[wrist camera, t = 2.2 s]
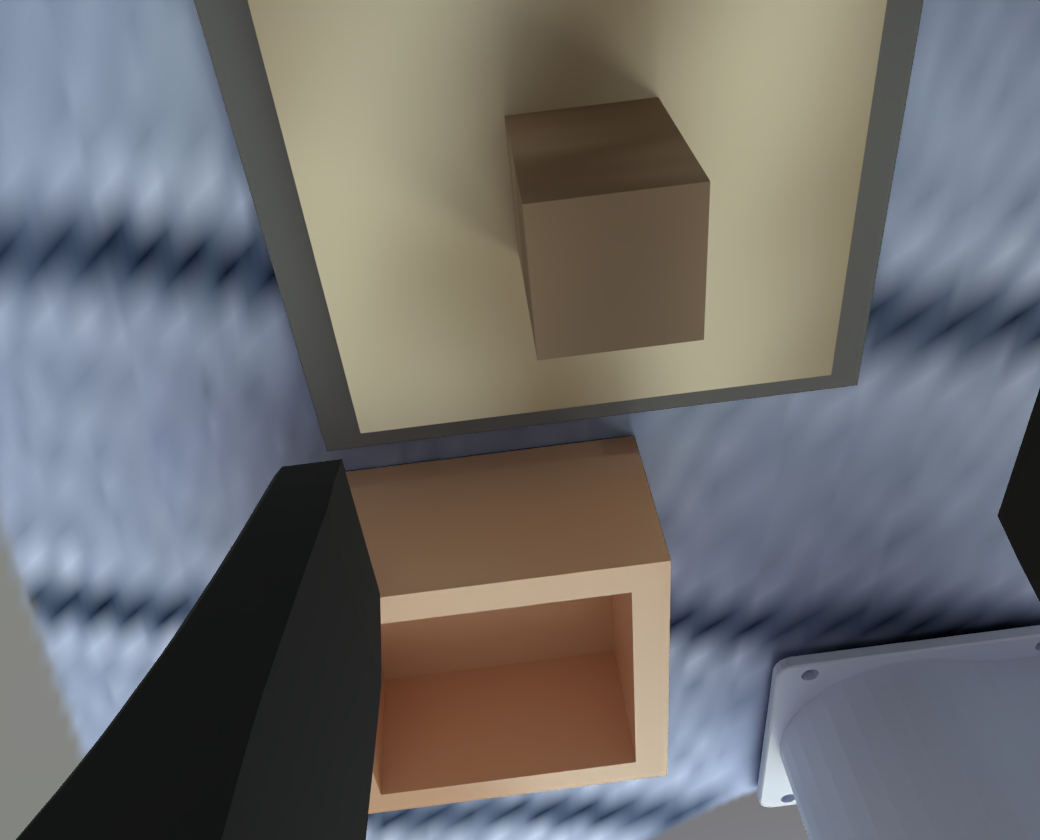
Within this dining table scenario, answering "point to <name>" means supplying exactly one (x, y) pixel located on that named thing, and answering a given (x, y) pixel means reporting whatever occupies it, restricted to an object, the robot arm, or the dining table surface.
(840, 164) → the lid
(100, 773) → the robot arm
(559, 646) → the tan square open box
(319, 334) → the mat
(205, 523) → the dining table surface
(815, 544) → the dining table surface
